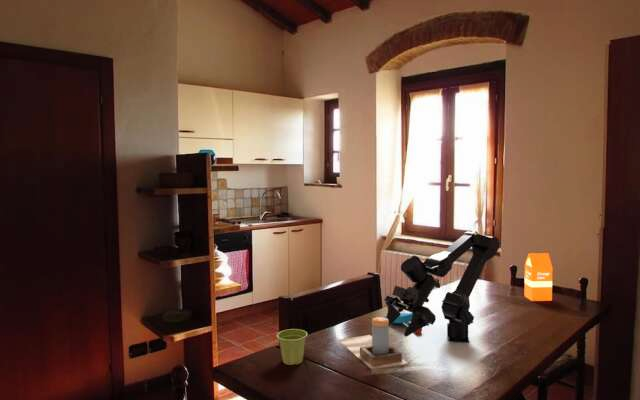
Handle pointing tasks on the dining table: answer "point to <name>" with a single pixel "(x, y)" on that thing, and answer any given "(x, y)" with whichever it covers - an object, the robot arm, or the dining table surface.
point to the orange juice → (538, 277)
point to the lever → (405, 320)
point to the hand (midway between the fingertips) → (394, 331)
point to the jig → (364, 352)
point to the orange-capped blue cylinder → (380, 336)
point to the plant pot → (292, 345)
